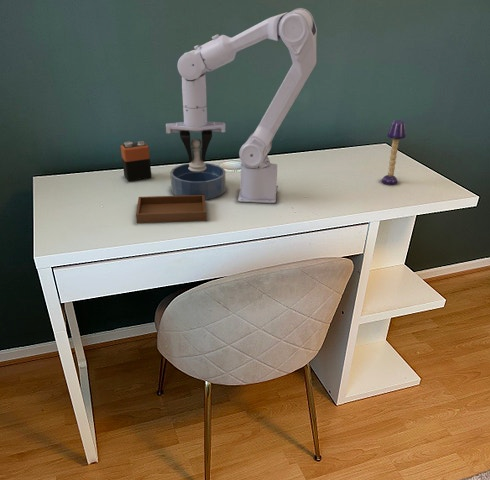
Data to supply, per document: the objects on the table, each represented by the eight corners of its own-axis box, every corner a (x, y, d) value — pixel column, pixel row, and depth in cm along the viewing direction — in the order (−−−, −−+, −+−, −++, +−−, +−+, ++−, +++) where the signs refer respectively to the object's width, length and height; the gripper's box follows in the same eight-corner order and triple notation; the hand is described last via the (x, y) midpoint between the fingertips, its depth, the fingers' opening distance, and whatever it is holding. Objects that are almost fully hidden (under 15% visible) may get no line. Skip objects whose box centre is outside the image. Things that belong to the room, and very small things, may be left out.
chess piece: (201, 164, 133) (199, 134, 128) (209, 170, 129) (208, 139, 125) (185, 167, 130) (183, 137, 126) (193, 173, 127) (192, 142, 123)
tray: (204, 202, 127) (204, 194, 125) (206, 220, 118) (206, 212, 117) (139, 204, 125) (138, 196, 124) (136, 223, 116) (135, 214, 115)
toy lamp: (378, 183, 139) (388, 122, 130) (381, 177, 143) (391, 118, 134) (395, 186, 138) (407, 124, 129) (398, 180, 142) (409, 120, 132)
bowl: (227, 180, 139) (227, 163, 136) (222, 201, 127) (222, 183, 124) (176, 179, 140) (175, 161, 137) (167, 199, 128) (165, 181, 125)
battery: (124, 176, 140) (119, 141, 135) (147, 173, 143) (144, 138, 137) (127, 182, 137) (123, 146, 131) (152, 178, 140) (148, 143, 134)
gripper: (223, 101, 125) (224, 154, 133) (164, 101, 124) (168, 155, 131) (225, 108, 119) (226, 163, 127) (164, 109, 118) (168, 165, 125)
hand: (197, 160), depth 129 cm, fingers closed on chess piece, 3 cm apart
